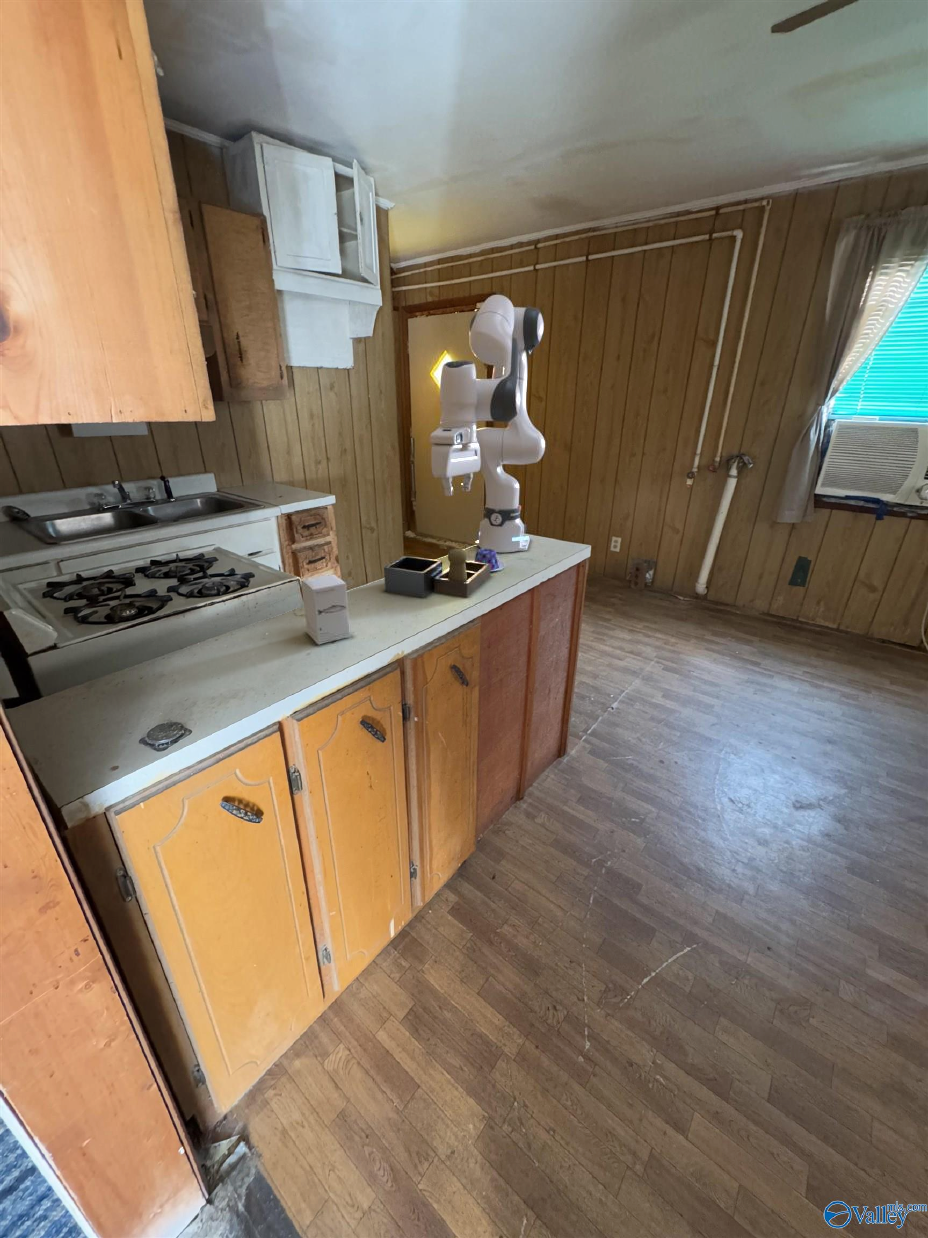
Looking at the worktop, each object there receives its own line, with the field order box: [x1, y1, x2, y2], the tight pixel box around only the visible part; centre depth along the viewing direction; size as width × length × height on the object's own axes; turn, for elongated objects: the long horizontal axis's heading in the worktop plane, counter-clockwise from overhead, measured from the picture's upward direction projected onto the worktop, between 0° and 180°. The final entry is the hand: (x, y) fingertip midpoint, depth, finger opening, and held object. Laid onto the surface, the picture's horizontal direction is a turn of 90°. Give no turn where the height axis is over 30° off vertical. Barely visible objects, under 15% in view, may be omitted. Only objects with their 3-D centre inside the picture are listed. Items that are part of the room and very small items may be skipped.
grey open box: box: [383, 555, 443, 599], centre depth 136 cm, size 12×12×7 cm
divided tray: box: [433, 560, 492, 598], centre depth 139 cm, size 18×10×4 cm, turn 158°
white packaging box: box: [300, 573, 351, 645], centre depth 107 cm, size 7×7×13 cm
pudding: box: [471, 548, 507, 572], centre depth 153 cm, size 12×12×5 cm
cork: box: [447, 548, 468, 582], centre depth 134 cm, size 6×6×11 cm
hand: (457, 493), depth 127 cm, fingers open, 8 cm apart
